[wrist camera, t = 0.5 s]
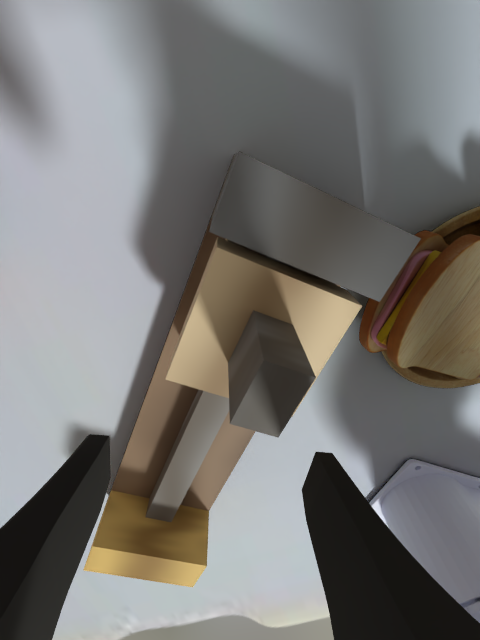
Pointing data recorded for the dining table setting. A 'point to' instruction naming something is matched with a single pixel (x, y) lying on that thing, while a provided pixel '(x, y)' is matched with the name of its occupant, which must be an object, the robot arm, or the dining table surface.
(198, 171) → the dining table surface
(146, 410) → the rail
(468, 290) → the toy sandwich meal
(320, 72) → the dining table surface
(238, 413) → the tan tabbed slider block
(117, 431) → the dining table surface
